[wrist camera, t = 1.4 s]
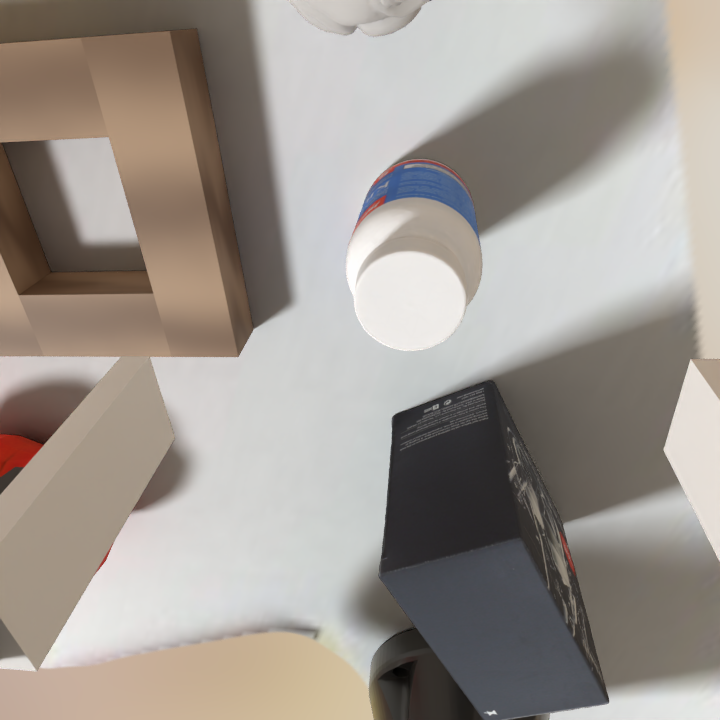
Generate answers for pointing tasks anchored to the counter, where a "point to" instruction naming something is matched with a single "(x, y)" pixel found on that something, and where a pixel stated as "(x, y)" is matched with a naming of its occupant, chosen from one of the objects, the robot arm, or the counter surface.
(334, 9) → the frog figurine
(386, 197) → the pill bottle
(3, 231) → the walnut holder block
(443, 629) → the small box
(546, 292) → the counter surface
